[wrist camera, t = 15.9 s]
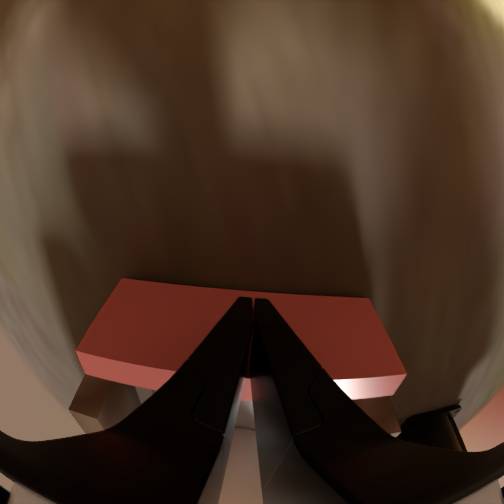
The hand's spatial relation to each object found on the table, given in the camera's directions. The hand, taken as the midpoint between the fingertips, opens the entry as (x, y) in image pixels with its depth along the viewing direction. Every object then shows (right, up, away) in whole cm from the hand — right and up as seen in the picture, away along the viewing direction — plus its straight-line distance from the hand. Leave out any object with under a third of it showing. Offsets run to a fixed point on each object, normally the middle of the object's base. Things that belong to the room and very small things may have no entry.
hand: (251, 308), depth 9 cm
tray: (-1, -7, +7) cm, 10 cm away
